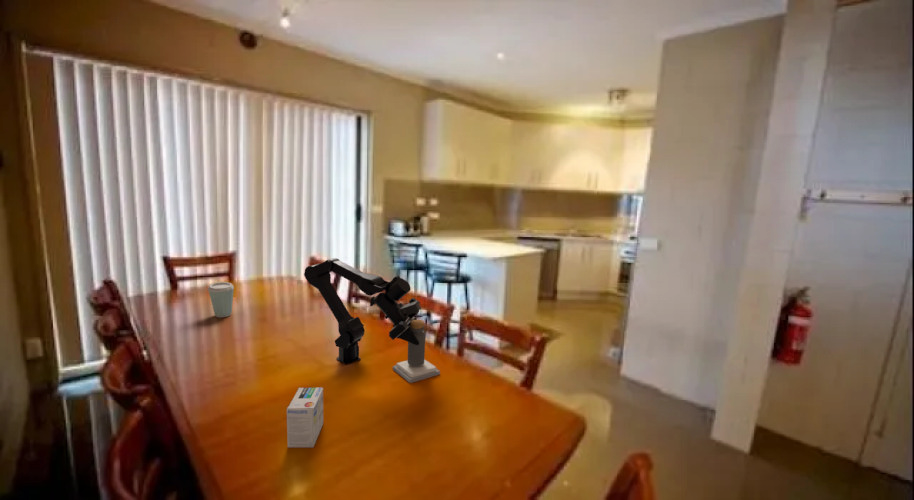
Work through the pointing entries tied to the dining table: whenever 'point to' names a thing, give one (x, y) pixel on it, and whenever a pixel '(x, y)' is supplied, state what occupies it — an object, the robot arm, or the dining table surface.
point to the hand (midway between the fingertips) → (420, 341)
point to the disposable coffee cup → (221, 298)
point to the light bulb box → (305, 417)
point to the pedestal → (415, 371)
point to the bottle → (417, 351)
